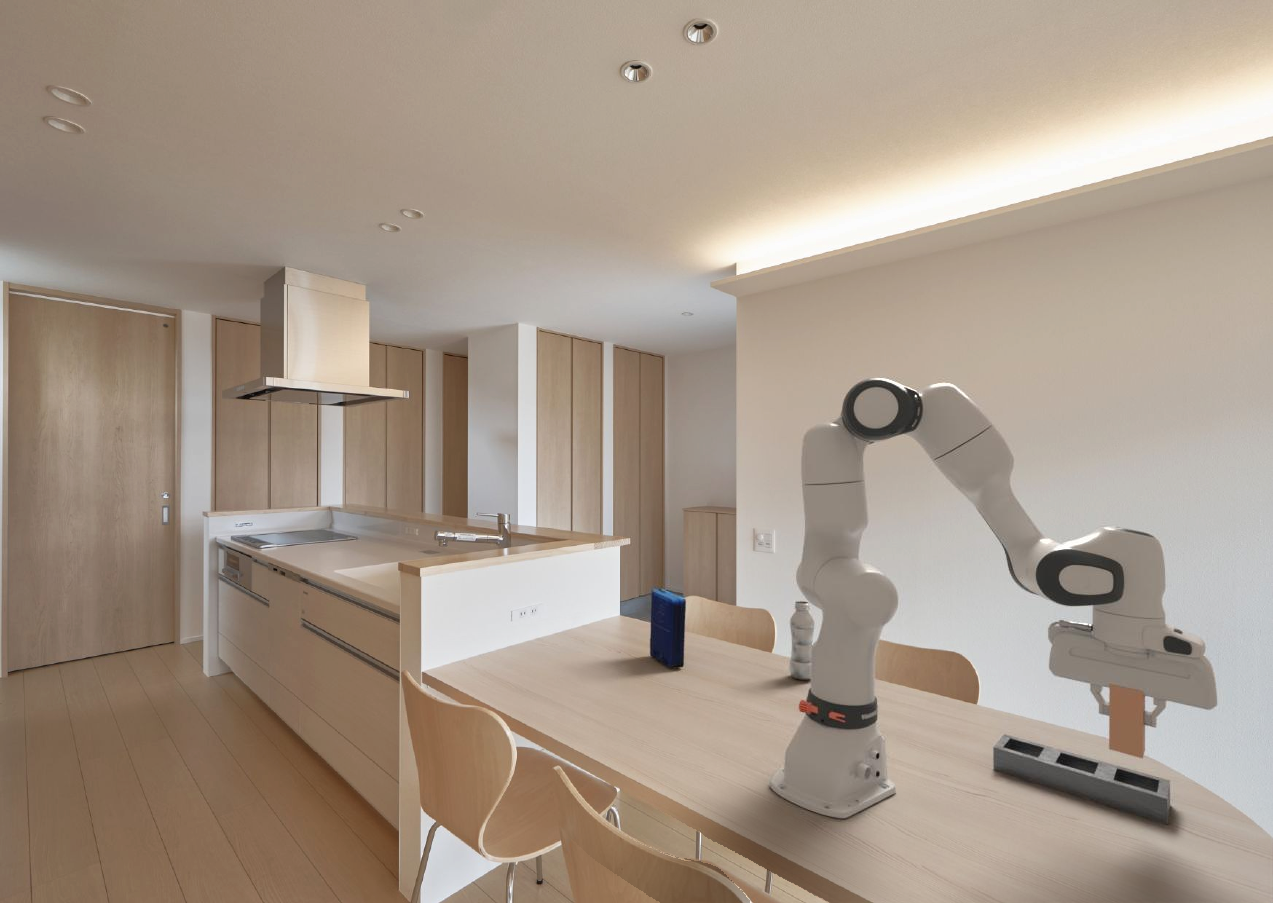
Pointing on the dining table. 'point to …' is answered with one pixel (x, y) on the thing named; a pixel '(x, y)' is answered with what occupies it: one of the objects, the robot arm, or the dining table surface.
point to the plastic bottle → (801, 641)
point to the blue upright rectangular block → (667, 628)
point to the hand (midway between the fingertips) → (1127, 719)
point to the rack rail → (1084, 777)
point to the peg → (1126, 721)
